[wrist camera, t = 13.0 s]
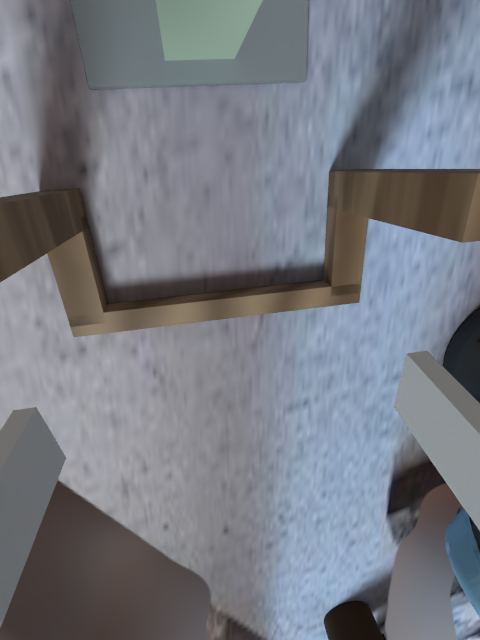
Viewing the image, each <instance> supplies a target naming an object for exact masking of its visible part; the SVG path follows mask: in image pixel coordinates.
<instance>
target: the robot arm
mask: <svg viewBox="0 0 480 640" xmlns="http://www.w3.org/2000/svg"><path fill="white" fill-rule="evenodd" d="M394 408H395V409H396V411H397V412H398V413H399V415H400V416H401V418H402V419H403V421H404V422H405V424H406V425H407V426H408V428H409V429H410V431H411V432H412V434H413V435H414V437H415V438H416V439H417V441H418V442H419V444H420V445H421V447H422V448H423V450H424V451H425V452H426V454H427V455H428V457H429V458H430V460H431V461H432V463H433V464H434V465H435V467H436V468H437V470H438V471H439V473H440V474H441V476H442V477H443V478H444V480H445V481H446V483H447V484H448V486H449V487H450V489H451V490H452V491H453V493H454V494H455V496H456V497H457V499H458V500H459V502H460V503H461V504H462V506H463V507H464V509H463V510H462V511H461V512H460V513H459V514H458V515H457V516H456V517H455V518H454V519H453V520H452V521H451V522H450V523H449V525H448V526H447V529H446V532H445V545H446V550H447V553H448V556H449V560H450V563H451V566H452V568H453V571H454V573H455V575H456V577H457V579H458V581H459V583H460V585H461V587H462V589H463V591H464V593H465V594H466V596H467V598H468V599H469V601H470V603H471V604H472V606H473V607H474V609H475V610H476V612H477V614H478V615H479V617H480V309H479V310H477V311H476V312H475V313H474V314H472V315H471V316H470V317H469V318H468V319H467V320H466V321H465V322H464V323H463V325H462V326H461V327H460V328H459V330H458V331H457V332H456V334H455V335H454V337H453V338H452V340H451V342H450V344H449V346H448V348H447V351H446V354H445V358H444V364H443V366H442V365H441V364H440V363H439V362H438V361H437V360H436V359H435V358H434V357H433V356H432V355H431V354H430V353H429V352H428V351H422V352H415V353H408V354H406V358H405V363H404V367H403V371H402V376H401V380H400V384H399V389H398V393H397V397H396V401H395V406H394ZM65 459H66V457H65V455H64V453H63V451H62V450H61V448H60V446H59V445H58V443H57V441H56V440H55V438H54V436H53V435H52V433H51V431H50V430H49V428H48V426H47V425H46V423H45V421H44V419H43V418H42V416H41V414H40V413H39V411H38V409H37V408H36V407H35V408H28V409H21V410H14V411H13V412H12V413H11V415H10V417H9V418H8V420H7V421H6V423H5V424H4V426H3V428H2V429H1V431H0V627H1V625H2V622H3V620H4V616H5V614H6V612H7V609H8V607H9V604H10V601H11V599H12V596H13V593H14V591H15V588H16V586H17V583H18V580H19V578H20V575H21V573H22V570H23V568H24V565H25V562H26V560H27V557H28V555H29V552H30V550H31V547H32V544H33V542H34V539H35V536H36V534H37V531H38V529H39V526H40V524H41V521H42V518H43V516H44V513H45V511H46V508H47V505H48V503H49V500H50V498H51V495H52V493H53V490H54V487H55V485H56V482H57V480H58V477H59V474H60V472H61V469H62V467H63V464H64V462H65Z"/></svg>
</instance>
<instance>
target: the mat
mask: <svg viewBox="0 0 480 640" xmlns="http://www.w3.org/2000/svg"><path fill="white" fill-rule="evenodd" d="M70 2H71V7H72V12H73V16H74V21H75V26H76V30H77V35H78V40H79V44H80V49H81V54H82V58H83V63H84V68H85V73H86V77H87V82H88V87H89V88H90V89H91V90H92V89H121V88H150V87H180V86H209V85H238V84H267V83H297V82H305V81H306V77H307V35H308V0H263V1H262V3H261V5H260V7H259V9H258V11H257V13H256V15H255V17H254V19H253V21H252V24H251V26H250V28H249V30H248V32H247V34H246V36H245V38H244V40H243V42H242V44H241V46H240V49H239V51H238V53H237V55H236V57H235V59H207V60H169V61H165V58H164V52H163V45H162V39H161V32H160V26H159V19H158V13H157V6H156V0H70Z"/></svg>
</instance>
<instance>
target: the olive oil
mask: <svg viewBox="0 0 480 640" xmlns="http://www.w3.org/2000/svg"><path fill="white" fill-rule="evenodd" d="M324 625H325V629H326V632H327V635H328V639H329V640H386V638H385V636H384V634H381V632H380V630H379V627H378V625H377V623H376V621H375V619H374V616H373V614H372V612H371V610H370V608H369V606H368V605H367V604H366V603H363V602H350V603H346V604H343V605H340V606H338V607H336V608H335V609H333V610H332V611H330V612H329V613H328V614H327V616H326V617H325V619H324Z"/></svg>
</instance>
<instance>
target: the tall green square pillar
mask: <svg viewBox="0 0 480 640" xmlns="http://www.w3.org/2000/svg"><path fill="white" fill-rule="evenodd" d="M262 1H263V0H156V6H157V13H158V19H159V26H160V32H161V39H162V45H163V52H164V58H165V61H169V60H207V59H235V57H236V55H237V53H238V51H239V49H240V46H241V44H242V42H243V40H244V38H245V36H246V34H247V32H248V30H249V28H250V26H251V24H252V21H253V19H254V17H255V15H256V13H257V11H258V9H259V7H260V5H261V3H262Z"/></svg>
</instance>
